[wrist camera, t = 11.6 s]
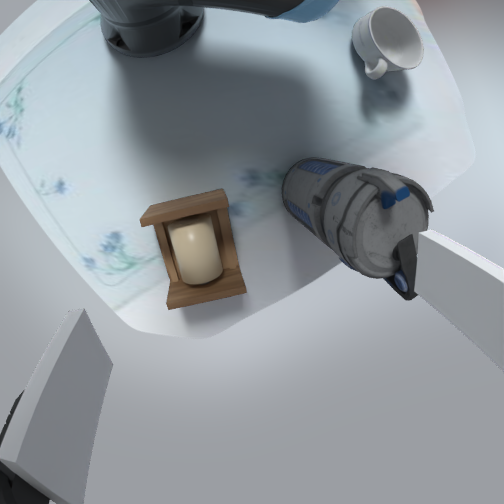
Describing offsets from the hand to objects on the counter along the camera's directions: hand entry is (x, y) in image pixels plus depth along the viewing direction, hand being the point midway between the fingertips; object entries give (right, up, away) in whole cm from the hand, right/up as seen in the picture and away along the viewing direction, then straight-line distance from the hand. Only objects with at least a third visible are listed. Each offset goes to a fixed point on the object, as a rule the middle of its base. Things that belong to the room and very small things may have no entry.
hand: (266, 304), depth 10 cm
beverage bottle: (+9, +11, +35) cm, 38 cm away
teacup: (+19, +35, +27) cm, 48 cm away
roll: (-8, +2, +30) cm, 32 cm away
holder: (-9, +4, +34) cm, 35 cm away
